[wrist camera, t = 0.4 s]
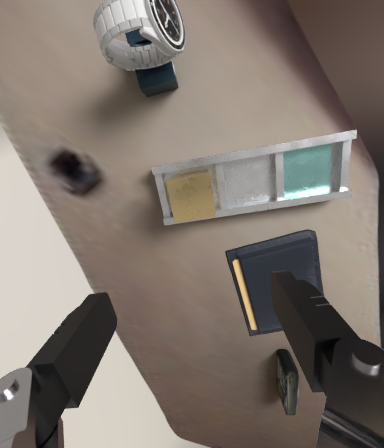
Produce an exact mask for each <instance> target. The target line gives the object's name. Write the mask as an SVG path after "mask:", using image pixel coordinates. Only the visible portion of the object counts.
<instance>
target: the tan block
mask: <svg viewBox="0 0 384 448" xmlns="http://www.w3.org/2000/svg"><path fill="white" fill-rule="evenodd" d="M166 184H167V189H168V194H169V198H170V203H171V208H172V213H173V217H174V222H175V223H179V222H186V221H192V220H199V219H205V218H212V217H216V211H215V204H214V196H213V189H212V182H211V175H210V172H209V170H208V169H207V170H202V171H196V172H190V173H184V174H179V175H174V176H172V177H171V178H170V179H168V180H167V181H166Z"/></svg>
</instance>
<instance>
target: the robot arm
mask: <svg viewBox="0 0 384 448" xmlns="http://www.w3.org/2000/svg"><path fill="white" fill-rule="evenodd" d="M270 277H271V296H272V304H273V308H274V311H275V314H276V316H277V318H278V320H279V322H280V324H281V326H282V328H283V330H284V333H285V335H286V337H287V339H288V341H289V343H290V345H291V347H292V349H293V352H294V354H295V356H296V358H297V360H298V362H299V364H300V366H301V369H302V371H303V373H304V375H305V377H306V379H307V381H308V383H309V385H310V388H311V390H312V392H324V393H325V395H326V401H325V407H324V412H323V413H322V416H321V421H320V427H319V432H318V438H317V444H316V448H384V350H383V349H382V348H380V347H379V346H377V345H375V344H373V343H371V342H369V341H366V340H363V339H360V338H359V337H358V335H357V334H356V333H355V332H354V331H353V330H352V328H351V327H350V326H349V325H348V324H347V323H346V322H345V320H344V319H343V318H342V317H341V316H340V315H339V313H338V312H337V311H336V310H335V309H334V308H333V307H332V305H330V304H329V302H328V301H327V300H326V298H325V297H323V295H322V294H321V293H320V292H319V290H318V289H317V288H316V287H315V286H314V285H312V284H310V283H309V282H307V281H305V280H296V278H295V277H294V276H293V275H292V273H291V272H290V271H289V270H282V271H274V272H271V275H270ZM116 326H117V317H116V314H115V311H114V309H113V306H112V303H111V301H110V298H109V296H108V294H107V293H106V292H104V293H96V294H90V295H88V296H87V297H86V299H85V300H84V301H83V303H82V304H81V305H80V306H79V307H77V308H76V309H75V310H74V311H72V312H71V313H70V314H69V315H68V316H67V317H66V319H65V320H64V321H63V322H62V323H61V326H59V327H58V328H57V329H56V331H55V332H54V334H52V336H51V337H50V338H49V339H48V341H47V342H46V343H45V344H44V346H43V347H42V348H41V349H40V350H39V352H38V353H37V354H36V355H35V356H34V358H33V359H32V360H31V361H30V363H29V364H28V365H27V366H26V367H25V368H20V369H17V370H14V371H12V372H10V373H8V374H7V375H5V376H4V377H2V378H1V379H0V448H64V436H63V421H62V419H61V415H62V413H63V411H64V409H66V408H78V407H79V405H80V403H81V401H82V399H83V396H84V394H85V392H86V390H87V388H88V386H89V384H90V382H91V380H92V378H93V376H94V373H95V371H96V369H97V367H98V365H99V363H100V361H101V359H102V357H103V355H104V353H105V350H106V348H107V346H108V344H109V342H110V340H111V338H112V336H113V334H114V332H115V330H116Z"/></svg>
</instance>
